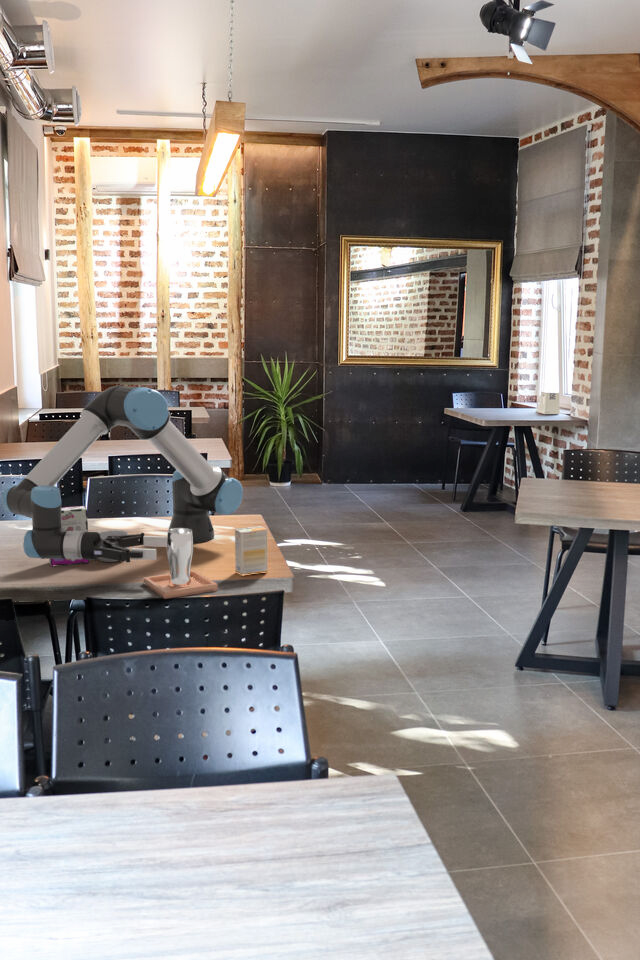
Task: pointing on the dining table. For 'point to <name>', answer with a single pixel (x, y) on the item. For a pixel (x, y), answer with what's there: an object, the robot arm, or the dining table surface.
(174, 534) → the steel tumbler
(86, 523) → the candy bar box
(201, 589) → the tray
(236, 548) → the supplement box
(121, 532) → the teacup
